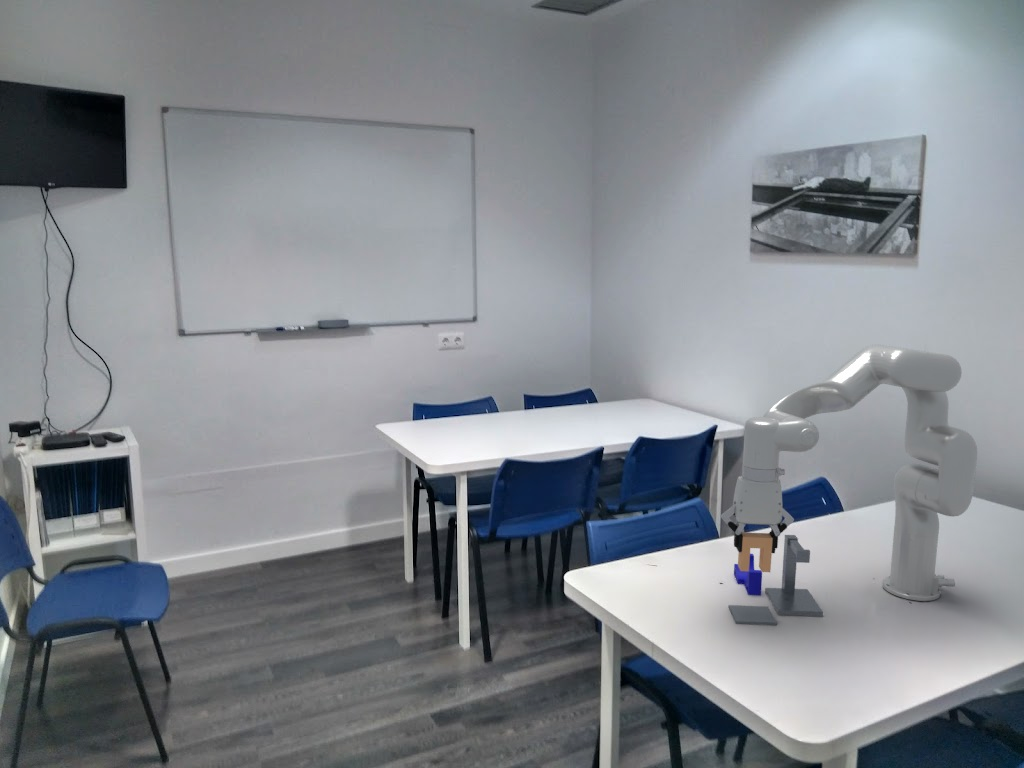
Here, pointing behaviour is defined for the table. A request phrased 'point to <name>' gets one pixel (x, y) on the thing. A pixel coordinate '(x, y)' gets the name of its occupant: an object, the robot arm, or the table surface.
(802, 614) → the stand
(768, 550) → the c link
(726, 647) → the table surface
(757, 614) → the mat
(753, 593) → the blue toy block
